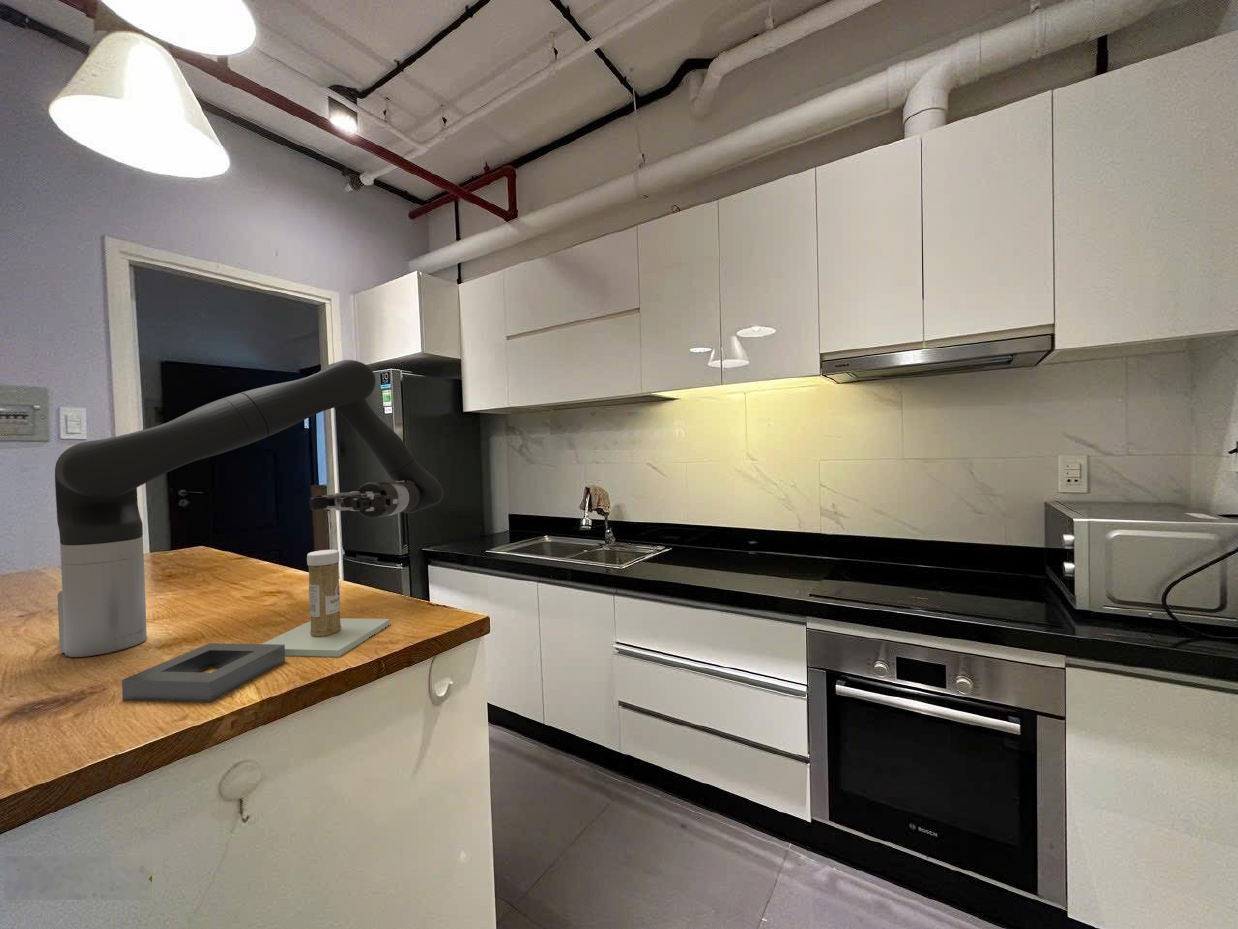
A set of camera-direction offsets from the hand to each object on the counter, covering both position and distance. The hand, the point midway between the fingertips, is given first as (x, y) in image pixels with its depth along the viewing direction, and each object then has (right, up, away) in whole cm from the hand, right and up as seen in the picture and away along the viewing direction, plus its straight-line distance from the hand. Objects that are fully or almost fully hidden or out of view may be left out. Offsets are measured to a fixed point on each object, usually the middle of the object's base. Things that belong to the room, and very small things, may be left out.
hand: (333, 504), depth 91 cm
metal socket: (-3, -22, -24) cm, 32 cm away
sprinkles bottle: (+4, -21, -9) cm, 23 cm away
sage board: (+4, -22, -9) cm, 24 cm away
